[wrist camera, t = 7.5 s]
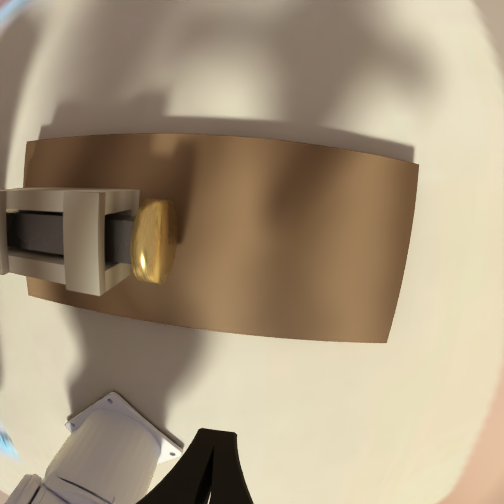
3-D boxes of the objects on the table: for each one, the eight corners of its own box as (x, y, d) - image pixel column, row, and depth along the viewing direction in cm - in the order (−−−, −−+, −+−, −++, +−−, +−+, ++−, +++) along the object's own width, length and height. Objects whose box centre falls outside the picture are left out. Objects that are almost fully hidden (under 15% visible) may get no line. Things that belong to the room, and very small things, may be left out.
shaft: (179, 198, 16) (153, 202, 12) (175, 271, 17) (151, 295, 13) (20, 192, 16) (-21, 196, 12) (21, 249, 17) (-18, 263, 13)
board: (410, 165, 16) (463, 160, 11) (380, 334, 19) (414, 383, 13) (37, 142, 17) (-20, 137, 11) (37, 290, 19) (-12, 317, 13)
